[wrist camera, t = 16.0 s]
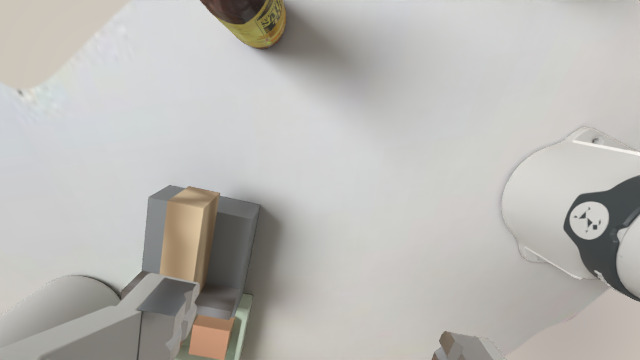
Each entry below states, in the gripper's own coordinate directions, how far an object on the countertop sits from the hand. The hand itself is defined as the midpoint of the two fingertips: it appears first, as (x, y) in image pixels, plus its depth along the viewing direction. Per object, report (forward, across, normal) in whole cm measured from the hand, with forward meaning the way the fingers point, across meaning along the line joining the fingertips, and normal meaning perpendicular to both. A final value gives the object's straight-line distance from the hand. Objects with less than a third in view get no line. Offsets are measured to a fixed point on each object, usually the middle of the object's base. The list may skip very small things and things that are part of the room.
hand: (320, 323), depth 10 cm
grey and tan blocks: (+24, +12, +12) cm, 29 cm away
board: (+29, +12, +15) cm, 35 cm away
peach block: (+26, +9, +28) cm, 39 cm away
